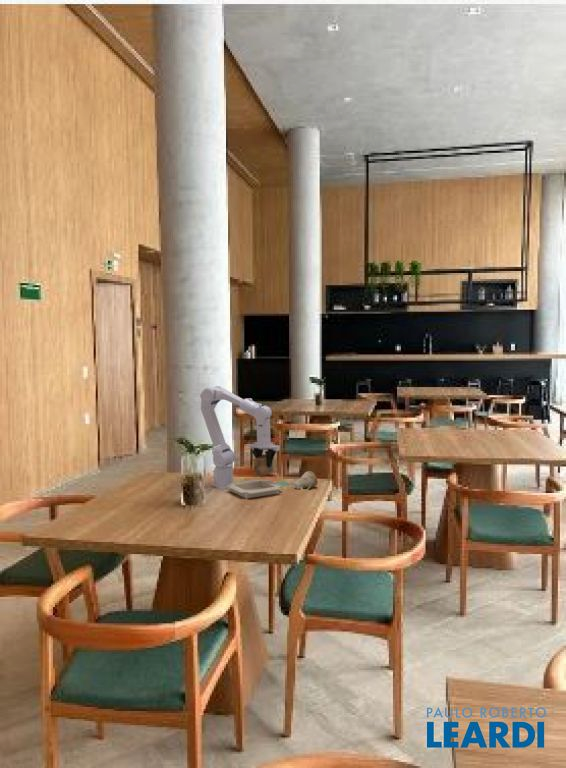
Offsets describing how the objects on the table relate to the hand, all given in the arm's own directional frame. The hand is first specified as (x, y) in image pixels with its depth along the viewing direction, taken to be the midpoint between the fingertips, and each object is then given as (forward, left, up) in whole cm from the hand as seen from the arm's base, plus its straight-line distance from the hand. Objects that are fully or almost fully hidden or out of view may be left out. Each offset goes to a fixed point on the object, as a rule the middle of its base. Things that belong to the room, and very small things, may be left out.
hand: (264, 466), depth 256 cm
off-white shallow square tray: (+2, -6, -10) cm, 12 cm away
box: (0, -1, -3) cm, 3 cm away
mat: (-4, +10, -10) cm, 14 cm away
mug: (+8, +15, -10) cm, 20 cm away
